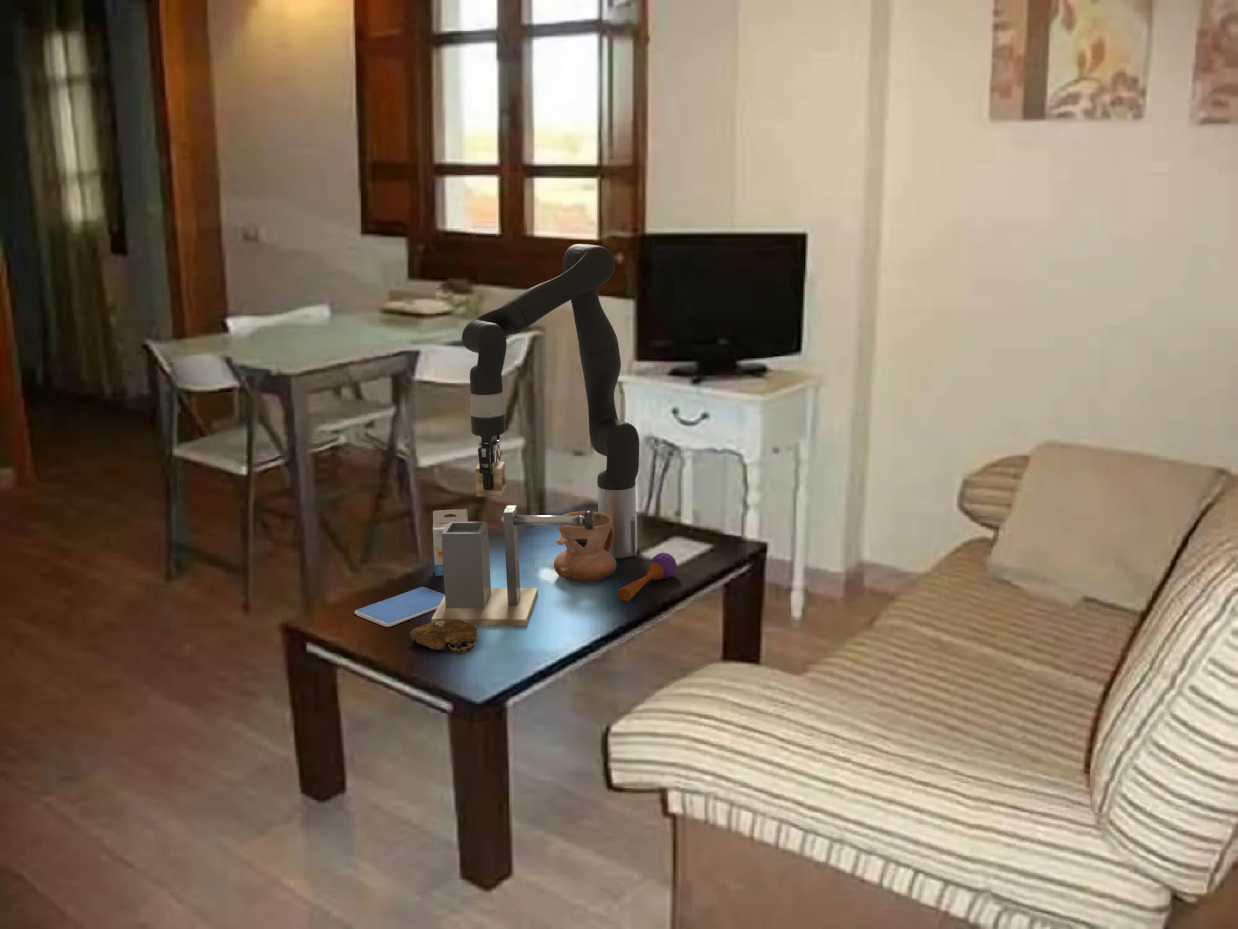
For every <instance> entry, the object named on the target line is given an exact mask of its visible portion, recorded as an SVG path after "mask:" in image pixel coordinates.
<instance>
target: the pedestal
mask: <svg viewBox="0 0 1238 929" xmlns="http://www.w3.org/2000/svg"><path fill="white" fill-rule="evenodd" d="M488 528H489V527H488V521H468V522H449V523H448V525H447V526H446V528H445V529H444V531H443V532H442V557H443V573H444V576H443V584H444V585H443V586H444V595H445V604H446V608H480V609H485V606H486V604H487V602H488V600H489V598H490V596H491V588H492V584H491V580H492V578H491V563H490V562H491V561H490V546H489V544H490V543H489V529H488Z"/></svg>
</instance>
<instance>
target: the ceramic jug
mask: <svg viewBox="0 0 1238 929" xmlns="http://www.w3.org/2000/svg"><path fill="white" fill-rule="evenodd" d="M585 511H586V510H582V511H581V510H580V511H572V512H568V513H565V514H563V515H581V516H584V517H585ZM593 513H594V527H593V530H585V524H583V525H557V526H558V531H559V533H560V536H561V537H558V538H557V539H556V541H555V542H556V544H557V545H558V546H563V545H565V547H566V549H564V550H563V551H561V552H559V553H558V555H556V557H555V559H554V561H553V568H554V571H555V572H556V574H557V575H558V576H560V577H561V578H562V579H563V580H564V579H565V580H568V581H571V582H574V583H575V582H577V583H593V582H598V581H602V580H604V579H606V578H608V577H610V576H611V575H612V574H614V572H615V571H616V570H617V569H616V568H617V560H616V558H614V557H613V556H612V555H611V554H610V553H609V551H610V548H611V545H612V541H613V536H614V530H613V527H612V526H611V523H612V519H611V517H610V516H609V515H606V514H604V513H601V512H598V511H593Z"/></svg>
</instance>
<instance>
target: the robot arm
mask: <svg viewBox="0 0 1238 929" xmlns="http://www.w3.org/2000/svg"><path fill="white" fill-rule="evenodd" d="M615 262H616V261H615V257H614V255H613V253H612V252H611V251H610V250H609V249H608V248H606V247H603V246H601V245H595V244H587V243H586V244H583V243H577V244H573V245H571V246H569V247H568V248H567V249H566V251H565V253H564V255H563V257H562V272H563V273H561V274H560V275H557V276H556V277H553V278H551V279H549V280H547V281H544V282H541V283H539V284H537V285H534V286H531V287H529V288H528V289H525V290H524V291H522V292H519V294H517V295H516V296H514V297H513V298H511V299H509V300H508V301H507V302H506V303H504V304H503V305H502V306H500V307H498V308H495V309H491V310H490V311H488V312H486V313H484V314H481V315H479V316H477V317H476V318H473V319H472V320H471V321H470V322H469V323H467V325H466V326H465V327H464V329H463V331H462V333H461V334H462V335H461V341H462V342H461V343H462V344H463V346H464V347H465V348H466V349H467V350H469V351H470V352H472V353H475V354H477V364H476V365H474V366H472V367H471V368H470V371H469V388H470V395H469V396H470V399H469V409H470V410H469V411H470V430H471V432H470V433H471V434H472V435H474V436H475V437H476V436H477V437H478V436H479V437H480V438H481V440H480V441H481V442H479V443H478V449H477V453H478V455H477V457H478V464H479V467H480V470H479V471H480V473H482V474H483V489H484V490H493V489H494V481H493V473H494V470H493V466H494V464H495V463H496V462H501V436H502V435H503V434H504V433H506V429H507V428H506V408H505V398H504V392H503V390H504V389H503V368H504V364H505V358H506V354H507V346H508V345H507V344H508V342H507V336H509V335H517V334H520V333H521V332H523V331H525V330H526V329H527V328H529V327H531V326H532V325H533V324H535V323H536V322H538V321H539V320H540V319H542V318H543V317H545V316H546V315H548V314H549V313H551V312H552V311H554V310H555V309H557V308H559V307H560V306H562V305H564V304H566V303H568V302H571V308H572V313H573V318H574V324H575V330H576V335H577V342H578V350H579V356H580V364H581V367H582V374H583V379H584V387H585V392H586V393H585V394H586V399H587V400H586V401H587V410H588V413H587V414H588V431H589V432H588V434H589V441H590V444H591V447H592V448H593V450H594V451H595V452H596V453H598V454H600V455H601V456H604V457H606V469H605V470H603V471H600V472H599V473H598V475H597V477H596V478H597V480H596V482H597V483H596V484H597V486H596V487H597V512H601V513H604V514H606V515H609V516H610V517H611V519H612V523H611V526H612V527H613V530H614V536H613V541H612V545H611V548H610V551H609V553H610V554H611V555H612V556H613V557H614V558H615V559H624V558H629V557H636V556H637V552H638V513H637V496H636V494H637V492H636V490H637V489H636V485H637V483H636V480H637V477H638V473H639V468H640V436H639V433H638V430H637V428H636V427H635V426H634V425H633V424H632V423H630V422H626V421H623V420H619V418H618V413H617V408H616V403H615V392H616V386H617V383H618V380H619V377H620V372H621V366H622V364H621V363H622V361H621V354H620V347H619V340H618V338H617V337H618V336H617V334H616V332H615V330H614V328H613V325H612V323H611V322H610V320H609V318H608V317H607V315H606V313H605V311H604V309H603V307H602V305H601V300H600V298H599V293H598V288H599V287H600V286H602V285H604V284H606V283H607V282H608V281H610V279H612V278H611V277H612V276H613V274H614V273H615V268H616V263H615ZM485 464H488V468H485Z"/></svg>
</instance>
